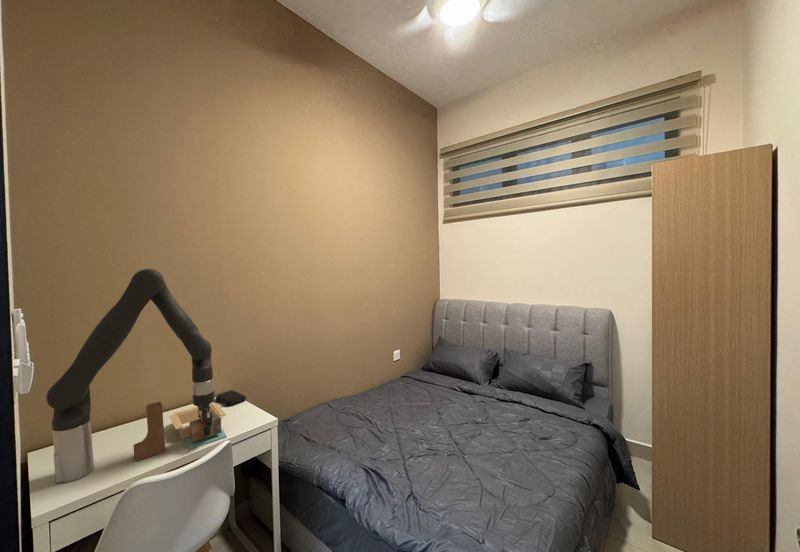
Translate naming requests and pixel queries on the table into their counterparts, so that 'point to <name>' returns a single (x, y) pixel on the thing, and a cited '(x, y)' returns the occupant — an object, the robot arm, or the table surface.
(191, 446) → the mat
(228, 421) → the table surface
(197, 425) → the box
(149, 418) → the wooden block
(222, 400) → the carrying case or bag
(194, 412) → the carton
